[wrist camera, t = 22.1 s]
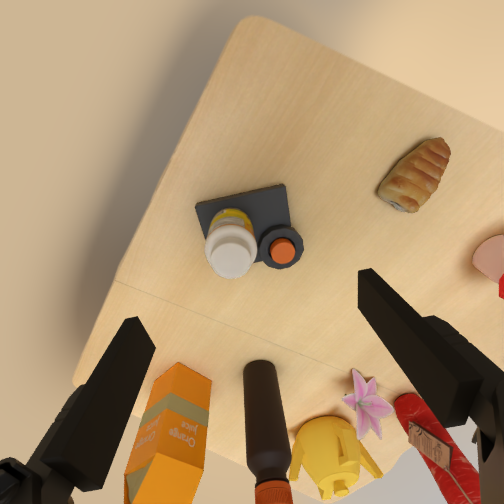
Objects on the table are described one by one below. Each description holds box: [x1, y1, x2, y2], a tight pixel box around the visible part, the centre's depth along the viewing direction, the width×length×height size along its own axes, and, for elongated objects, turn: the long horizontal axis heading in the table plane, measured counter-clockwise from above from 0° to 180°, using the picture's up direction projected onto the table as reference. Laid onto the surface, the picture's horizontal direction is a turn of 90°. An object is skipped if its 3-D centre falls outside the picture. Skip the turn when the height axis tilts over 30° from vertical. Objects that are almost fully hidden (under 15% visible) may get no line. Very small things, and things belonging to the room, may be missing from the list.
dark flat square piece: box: [195, 184, 304, 269], centre depth 32 cm, size 13×11×4 cm
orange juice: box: [124, 362, 212, 504], centre depth 38 cm, size 8×9×20 cm
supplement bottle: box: [205, 208, 257, 279], centre depth 26 cm, size 6×6×10 cm
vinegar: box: [243, 360, 293, 504], centre depth 38 cm, size 7×7×20 cm
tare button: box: [270, 238, 295, 264], centre depth 31 cm, size 3×3×2 cm
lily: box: [342, 369, 394, 440], centre depth 48 cm, size 12×12×10 cm
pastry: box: [378, 137, 451, 213], centre depth 30 cm, size 9×7×4 cm
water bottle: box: [394, 394, 481, 504], centre depth 44 cm, size 12×8×25 cm, turn 37°
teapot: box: [289, 416, 383, 500], centre depth 54 cm, size 17×17×12 cm
